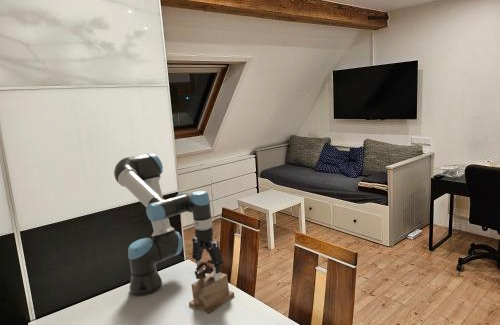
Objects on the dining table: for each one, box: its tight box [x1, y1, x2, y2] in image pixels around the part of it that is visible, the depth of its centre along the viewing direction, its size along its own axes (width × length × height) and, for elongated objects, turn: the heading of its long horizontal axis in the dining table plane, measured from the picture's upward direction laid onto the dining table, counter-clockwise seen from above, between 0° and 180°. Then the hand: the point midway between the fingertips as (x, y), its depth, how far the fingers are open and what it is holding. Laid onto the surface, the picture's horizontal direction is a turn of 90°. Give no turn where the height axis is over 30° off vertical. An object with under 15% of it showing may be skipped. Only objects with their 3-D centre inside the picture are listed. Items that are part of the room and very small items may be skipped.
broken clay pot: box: [194, 259, 214, 281], centre depth 152 cm, size 12×10×8 cm
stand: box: [188, 271, 235, 315], centre depth 152 cm, size 12×16×10 cm
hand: (209, 276), depth 151 cm, fingers closed on broken clay pot, 9 cm apart
